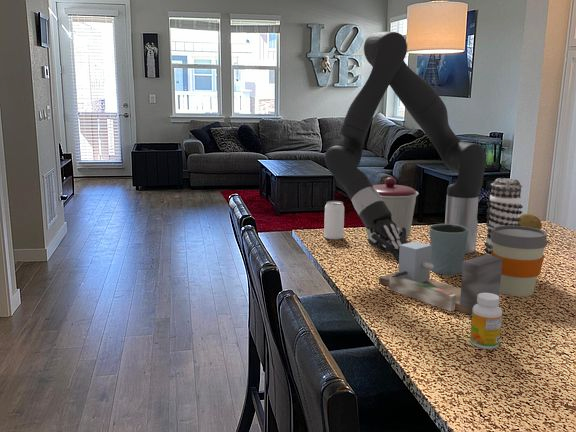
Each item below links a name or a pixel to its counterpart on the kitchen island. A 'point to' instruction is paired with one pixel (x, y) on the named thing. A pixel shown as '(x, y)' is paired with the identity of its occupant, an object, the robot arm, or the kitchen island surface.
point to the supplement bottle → (486, 321)
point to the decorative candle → (503, 207)
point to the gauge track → (475, 279)
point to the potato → (530, 221)
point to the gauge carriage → (415, 261)
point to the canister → (398, 203)
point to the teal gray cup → (448, 248)
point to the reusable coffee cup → (519, 257)
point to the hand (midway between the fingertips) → (404, 263)
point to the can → (334, 220)
